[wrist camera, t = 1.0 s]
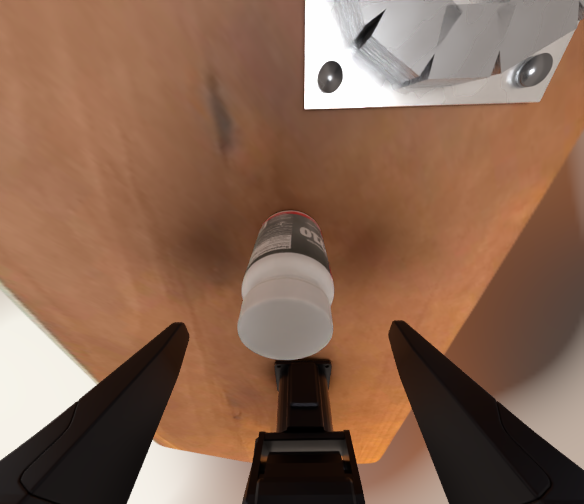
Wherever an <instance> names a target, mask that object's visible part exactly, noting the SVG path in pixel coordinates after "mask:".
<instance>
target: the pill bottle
mask: <svg viewBox="0 0 584 504" xmlns="http://www.w3.org/2000/svg"><path fill="white" fill-rule="evenodd" d="M242 298H243V302H242V306H241V312H240V316H239V320H238V325H237V329H238V335H239V337H240V339H241V341H242V342H243V343H244V345H245V346H246V347H247V348H249V349H250V350H251V351H253V352H255V353H257V354H259V355H261V356H264V357H267V358H271V359H276V360H295V359H301V358H304V357H308V356H311V355H313V354H315V353H317V352H319V351H320V350H322V349H323V348H324V347H325V346H326V345H327V344H328V343H329V341H330V339H331V337H332V334H333V322H332V315H331V307H330V306H331V304H332V301H333V298H334V283H333V278H332V274H331V270H330V266H329V262H328V258H327V254H326V249H325V245H324V241H323V237H322V233H321V230H320V228H319V226H318V224H317V223H316V222H315V220H314V219H312V218H311V217H310V216H308V215H307V214H305V213H302V212H299V211H292V210H290V211H282V212H278V213H276V214H274V215H272V216H270V217H269V218H268V219H267V220H266V221H265V222H264V223H263V225H262V227H261V228H260V231H259V234H258V237H257V240H256V243H255V246H254V249H253V252H252V255H251V258H250V261H249V264H248V267H247V270H246V272H245V275H244V278H243V283H242Z"/></svg>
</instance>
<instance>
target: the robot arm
mask: <svg viewBox="0 0 584 504" xmlns="http://www.w3.org/2000/svg"><path fill="white" fill-rule="evenodd" d="M388 335H389V341H390V344H391V348H392V351H393V355H394V359H395V362H396V366H397V369H398V373H399V376H400V379H401V381H402V384H403V386H404V389H405V392H406V394H407V397H408V399H409V402H410V404H411V407H412V410H413V412H414V415H415V417H416V420H417V422H418V425H419V427H420V430H421V432H422V435H423V438H424V440H425V443H426V445H427V448H428V451H429V453H430V456H431V458H432V461H433V463H434V466H435V469H436V471H437V474H438V476H439V479H440V481H441V484H442V486H443V489H444V492H445V494H446V497H447V499H448V502H449V504H584V470H583V469H582V468H580V467H579V466H578V465H576V464H575V463H574V462H572V461H571V460H570V459H569V458H567V457H566V456H565V455H563V454H562V453H561V452H559V451H558V450H557V449H556V448H554V447H553V446H552V445H551V444H549V443H548V442H547V441H546V440H544V439H543V438H542V437H540V436H539V435H538V434H536V433H535V432H534V431H533V430H532V429H530V428H529V427H528V426H527V425H526V424H524V423H523V422H522V421H521V420H519V419H518V418H517V417H516V416H515V415H514V414H512V413H511V412H510V411H509V410H508V409H506V408H505V407H504V406H503V405H502V404H501V403H499V402H498V401H496V400H495V398H493V397H492V396H491V395H490V394H489V393H488V392H486V391H485V390H484V389H483V388H482V387H481V386H479V385H478V384H477V383H476V382H475V381H473V380H472V379H471V378H470V377H469V376H468V375H467V374H465V373H464V372H463V371H462V370H461V369H460V368H458V367H457V366H456V365H455V364H454V363H452V362H451V361H450V360H449V359H448V358H447V357H446V356H444V355H443V354H442V353H441V352H440V351H439V350H437V349H436V348H435V347H434V346H433V345H432V344H430V343H429V342H428V341H427V340H426V339H424V338H423V337H422V336H421V335H420V334H419V333H417V332H416V331H415V330H414V329H413V328H412V327H410V326H409V325H408V324H407V323H406V322H404V321H401V320H397V321H393V322H392V324H391V327H390V330H389V334H388ZM188 341H189V333H188V330H187V328H186V326H185V324H184V323H182V322H175V323H172V324H171V325H170V326H169V327H167V328H166V329H165V330H164V331H162V332H161V333H160V334H159V335H157V336H156V337H155V338H154V339H153V340H151V341H150V342H149V343H148V344H146V345H145V346H144V347H143V348H142V349H140V350H139V351H138V352H137V353H135V354H134V355H133V356H132V357H131V358H129V359H128V360H127V361H126V362H124V363H123V364H122V365H121V366H120V367H118V368H117V369H116V370H115V371H113V372H112V373H111V374H110V375H109V376H107V377H106V378H105V379H104V380H102V381H101V382H100V383H99V384H97V385H96V386H95V387H94V388H93V389H92V390H90V391H89V392H88V393H86V394H85V395H84V396H83V397H82V398H80V399H79V401H78V402H75V403H74V404H73V405H72V406H71V407H69V408H68V409H67V410H66V411H64V412H63V413H62V414H61V415H59V416H58V417H57V418H56V419H54V420H53V421H52V422H51V423H49V424H48V425H47V426H46V427H44V428H43V429H42V430H40V431H39V432H38V433H36V434H35V435H34V436H33V437H31V438H30V439H29V440H27V441H26V442H25V443H23V444H22V445H21V446H19V447H18V448H17V449H15V450H14V451H13V452H11V453H10V454H8V455H7V456H6V457H5V458H3V459H2V460H0V504H127V501H128V499H129V497H130V494H131V492H132V489H133V487H134V484H135V481H136V479H137V477H138V474H139V471H140V469H141V467H142V464H143V462H144V459H145V457H146V454H147V452H148V449H149V447H150V444H151V442H152V440H153V437H154V435H155V432H156V430H157V427H158V425H159V422H160V420H161V417H162V415H163V412H164V410H165V408H166V405H167V403H168V400H169V398H170V395H171V393H172V390H173V388H174V385H175V383H176V380H177V378H178V375H179V372H180V369H181V365H182V362H183V358H184V355H185V352H186V348H187V345H188ZM331 367H332V366H331V362H330V361H276V362H275V374H276V382H277V390H278V392H279V395H278V413H277V430H276V433H266V432H259V437H258V438H257V439H256V441H255V449H254V457H253V462H252V467H251V471H250V475H249V478H248V482H247V486H246V490H245V494H244V497H243V502H242V504H365V500H364V494H363V490H362V485H361V480H360V476H359V472H358V467H357V463H356V458H355V454H354V449H353V445H352V440H351V436H350V431H349V430H343V431H334V432H333V425H332V417H331V409H330V401H329V393H328V389H329V382H330V375H331ZM341 456H342V458H343V460H342V458H341Z"/></svg>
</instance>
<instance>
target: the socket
mask: <svg viewBox="0 0 584 504" xmlns="http://www.w3.org/2000/svg"><path fill="white" fill-rule="evenodd" d="M582 19H584V0H305V76H304V110H305V109H338V108H372V107H405V106H439V105H472V104H506V103H532V102H540V100H541V98H542V96H543V94H544V92H545V90H546V88H547V86H548V84H549V82H550V80H551V78H552V76H553V74H554V72H555V70H556V68H557V66H558V64H559V62H560V60H561V58H562V56H563V53H564V51H565V49H566V47H567V45H568V43H569V41H570V39H571V37H572V35H573V33H574V31H575V29H576V28H577V25H578V23H579V21H580V20H582Z"/></svg>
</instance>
